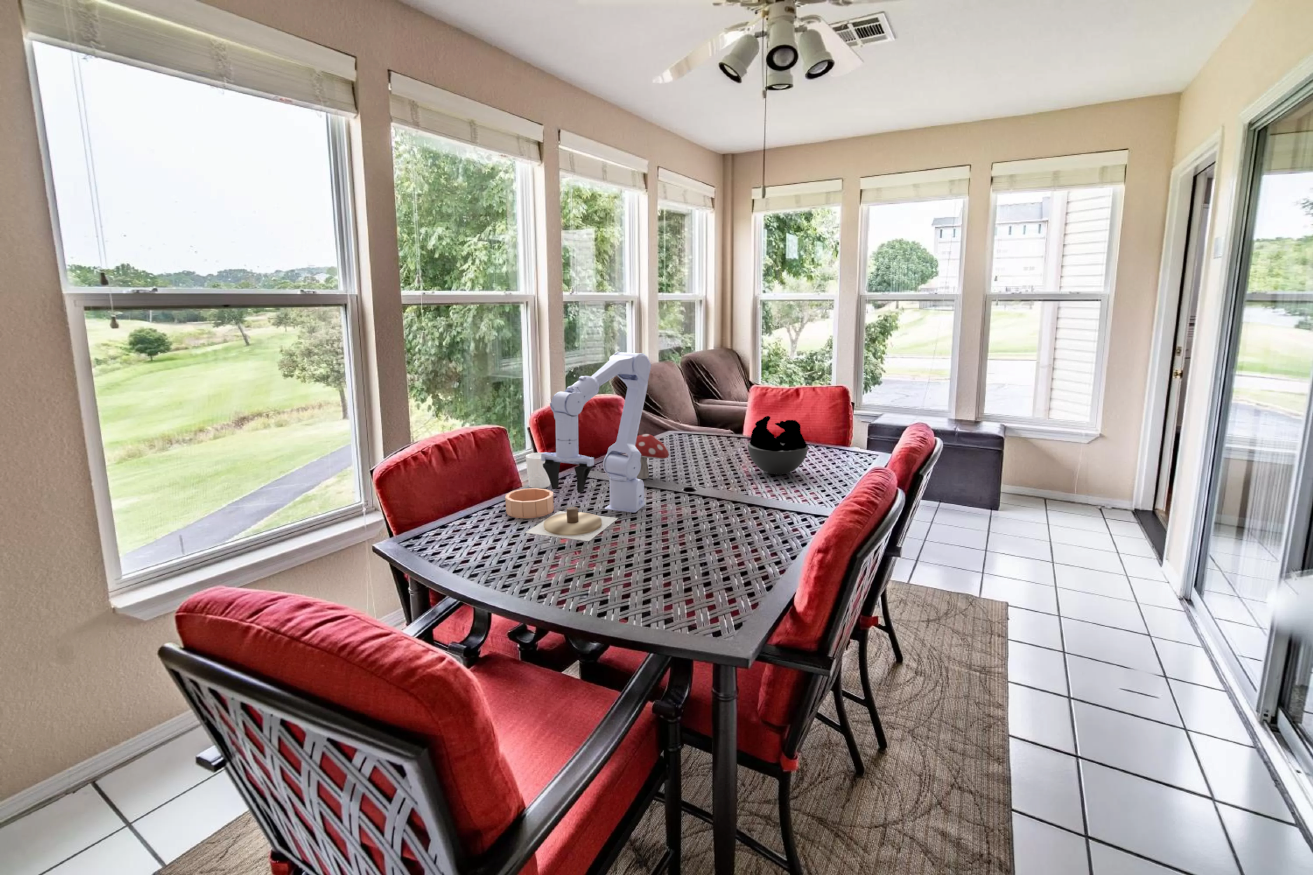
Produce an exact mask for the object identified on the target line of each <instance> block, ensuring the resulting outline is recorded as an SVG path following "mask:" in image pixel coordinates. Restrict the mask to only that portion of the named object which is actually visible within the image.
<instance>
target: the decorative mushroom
mask: <svg viewBox="0 0 1313 875" xmlns="http://www.w3.org/2000/svg"><path fill="white" fill-rule="evenodd" d="M635 447H636V448H637V449H638V450H639V452H640V453H641V458H640V463H641V469H640V472H639V474H638V476H637V479H641V480H645V479H648V478H649V477H650V473H649V472H650V471H649V466H648V459H656V460H657V459H658V460H659V459H660V460H665V459H668V458H669V455H670V452H669V451H668V450H669V449H667V446H666V445H665V444H664V443H663V442H662V441H661V440H659V439H658V438H656V437H655V436H653V435H652V434H650V433H643V434H639V435H638V434H637V439H636V444H635Z"/></svg>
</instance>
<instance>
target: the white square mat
mask: <svg viewBox="0 0 1313 875" xmlns="http://www.w3.org/2000/svg"><path fill="white" fill-rule="evenodd" d="M563 513H567V511H560V510H558V511H557V512H556V513H554V514H552V515H550V516H549V517H552V516H554V515H558V514H563ZM598 516H599V517H600V518H601V520H602V525H601V527H600V528H599V529H597V530H595V531H593V532H590V533H586V534H580V535H558V534H553V533H550V532H548V531H546V530H545V529H544V521H545V520H546V519H548V518H549V517H547V518H546V519H544V520H543V521H541V522H540V523H538V524H536V525H535V526H533V527H531V528H530V529H528V530H527V531H525V532H524V533H525V534H531V535H538V536H539V535H540V536H547V537H551V538H560V539H561V538H562V539H568V540H577V541H582V542H591V541H592V540H593V539H594V538H595V537H596V536H598V535H599V534H600V533H601V532H603V531H604V530H605V529H607V528H608V527H609V526H611V525H612V524H613V523H614V522H616V521H617V520H618V519H619V517H613V516H602V515H598Z"/></svg>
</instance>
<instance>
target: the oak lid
mask: <svg viewBox="0 0 1313 875" xmlns="http://www.w3.org/2000/svg"><path fill="white" fill-rule="evenodd" d="M566 512H567V513H563V514H558V515H554V514H553V515H554V516H552V515H551V516H552V517H550V516H549V517H547V518H548V519H547V518H546V519H544V520H545V521H544V520H543V521H544V529H545V530H546V531H548V532H550V533H553V534H558V535H580V534H586V533H590V532H593V531H595V530H597V529H599V528H600V527H601V525H602V520H601V518H600V517H599V516H600V515H597V514H593V513H590V512H581V511H580V512H579V508H578V507H576V506H570V507H567V508H566Z"/></svg>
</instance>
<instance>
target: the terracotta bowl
mask: <svg viewBox="0 0 1313 875" xmlns="http://www.w3.org/2000/svg"><path fill="white" fill-rule="evenodd" d="M504 499H505V511H506V512H505V513H506V515H508V516H510V517H511V518H516V519H517V518H518V519H535V518H541V517H544V516H547V515H548V516H549V515H551V513H553V512H554V509H555V507H554V505H555V504H554V491H552V490H550V489H546V488H531V487H529V488H528V487H527V488H521V489H517V490H512V491H510V492H508V493H505V497H504Z"/></svg>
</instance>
